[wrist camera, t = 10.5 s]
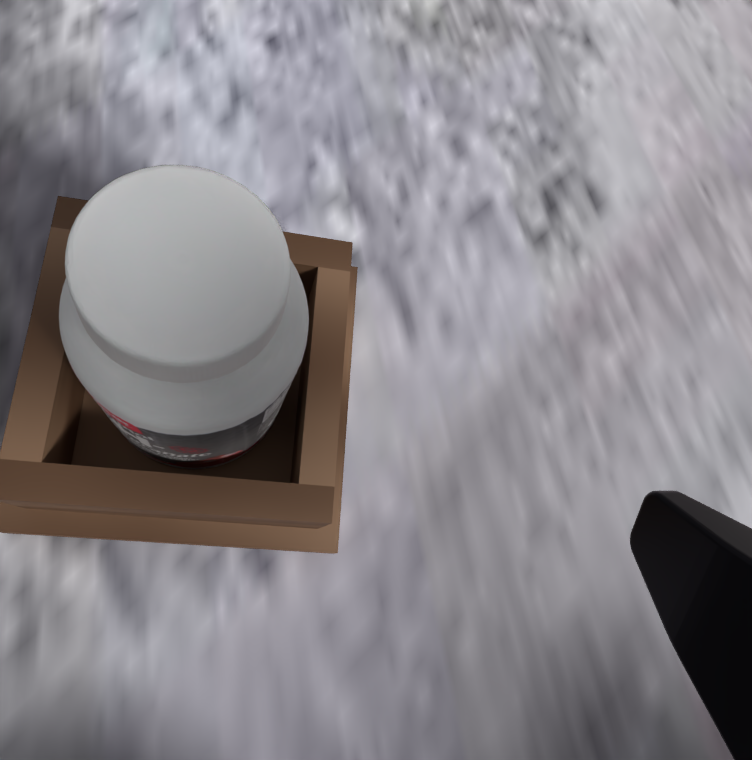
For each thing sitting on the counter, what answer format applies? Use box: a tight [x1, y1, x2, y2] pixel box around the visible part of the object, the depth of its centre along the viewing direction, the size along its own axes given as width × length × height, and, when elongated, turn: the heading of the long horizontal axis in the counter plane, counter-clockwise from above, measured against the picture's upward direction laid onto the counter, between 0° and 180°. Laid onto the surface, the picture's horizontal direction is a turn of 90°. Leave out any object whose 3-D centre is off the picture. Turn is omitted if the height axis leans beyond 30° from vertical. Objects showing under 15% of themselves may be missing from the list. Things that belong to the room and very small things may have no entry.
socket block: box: [0, 196, 358, 553], centre depth 20 cm, size 10×10×4 cm
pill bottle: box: [59, 165, 309, 469], centre depth 16 cm, size 5×5×10 cm
